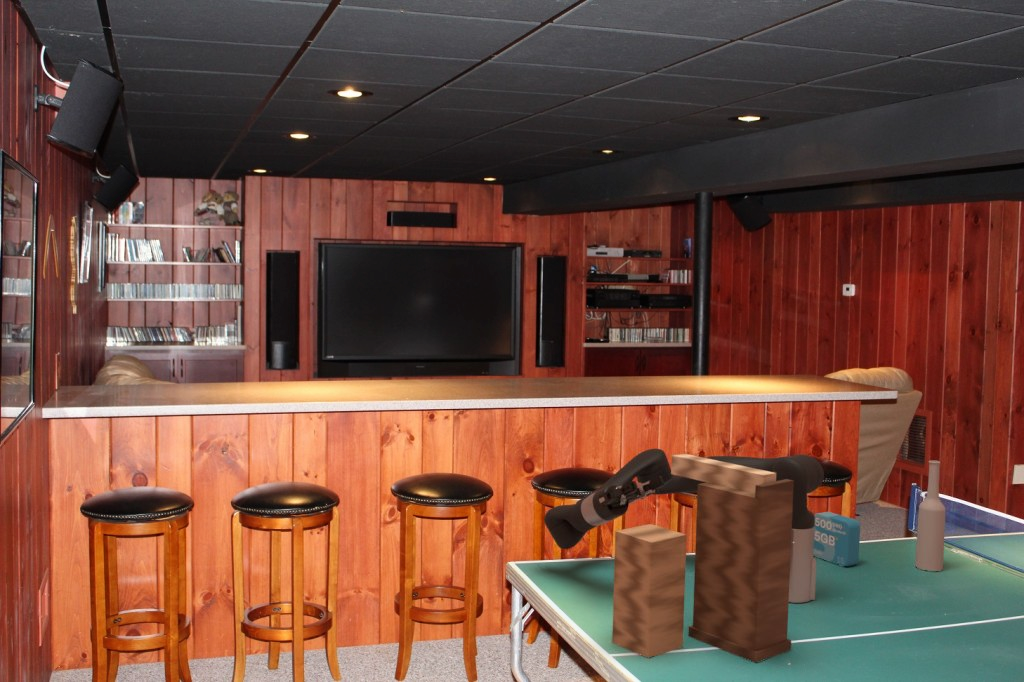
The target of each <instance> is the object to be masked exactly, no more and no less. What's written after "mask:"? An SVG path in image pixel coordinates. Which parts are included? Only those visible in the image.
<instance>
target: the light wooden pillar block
mask: <svg viewBox="0 0 1024 682" xmlns="http://www.w3.org/2000/svg"><path fill="white" fill-rule="evenodd" d="M614 534H615V535H614V565H613V566H614V568H613V569H614V571H613V572H614V573H613V601H612V603H613V606H612V633H611V634H612V638H611V639H612V641H611V642H612V643H613V644H615V645H618V646H619V647H622V648H624V649H626V650H628V649H629V650H628V651H631V652H633V653H635V652H636V654H637V653H638V655H640V654H641V655H640V656H642V655H643V657H644V656H646V657H645V658H647V657H651V658H652V656H654V657H656V656H659V655H662V654H666V653H669V652H671V651H674V650H678V649H679V648H683V646H684V621H685V619H684V617H685V616H684V615H685V593H686V591H685V590H686V564H687V563H686V561H687V560H686V559H687V557H686V556H687V534H685V533H683V532H680V531H679V532H678V531H675V530H672V529H669V528H666V527H662V526H659V525H655V524H652V523H649V524H648V523H647V524H643V525H638V526H633V527H628V528H624V529H623V528H622V529H619V530H615V533H614Z"/></svg>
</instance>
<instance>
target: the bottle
mask: <svg viewBox="0 0 1024 682" xmlns="http://www.w3.org/2000/svg"><path fill="white" fill-rule="evenodd" d="M928 463H929V466H928V468H929V470H928V471H929V472H928V482H927V483H928V485H927V491H926V497H925V499H924V500H922V502H920V504H919V505H918V515H917V517H918V518H917V533H916V546H915V547H916V548H915V549H916V550H915V565H914V566H916V567H917V568H919V569H918V570H920V569H923V570H929V571H940V570H942V571H944V554H945V553H944V552H945V532H946V529H945V528H946V507H945V505H944V503H943V502H942V501H941V498H940V495H939V494H940V490H939V488H940V486H939V485H940V483H939V482H940V481H939V480H940V466H941V465H940V464H941V462H940V461H939V460H934V459H933V460H928ZM916 567H915V568H916ZM917 568H916V569H917ZM923 570H922V571H923Z"/></svg>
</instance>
